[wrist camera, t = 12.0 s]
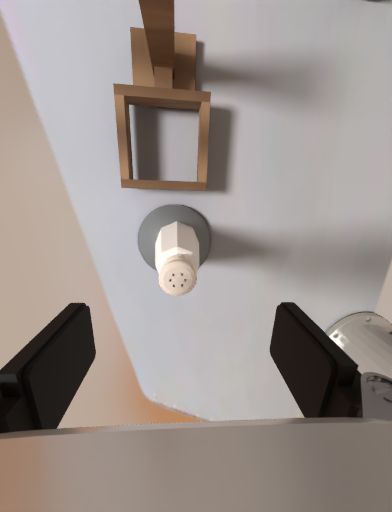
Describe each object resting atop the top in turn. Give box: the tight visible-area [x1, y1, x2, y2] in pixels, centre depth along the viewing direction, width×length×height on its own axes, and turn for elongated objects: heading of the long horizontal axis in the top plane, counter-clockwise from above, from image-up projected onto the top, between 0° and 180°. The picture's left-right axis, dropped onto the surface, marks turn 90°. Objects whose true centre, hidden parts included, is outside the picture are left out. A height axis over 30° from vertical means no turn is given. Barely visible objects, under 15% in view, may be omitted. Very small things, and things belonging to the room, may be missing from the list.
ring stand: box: [114, 0, 211, 191], centre depth 14 cm, size 14×9×16 cm, turn 178°
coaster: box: [138, 204, 210, 270], centre depth 25 cm, size 9×9×1 cm
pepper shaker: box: [155, 221, 199, 296], centre depth 20 cm, size 5×5×11 cm
